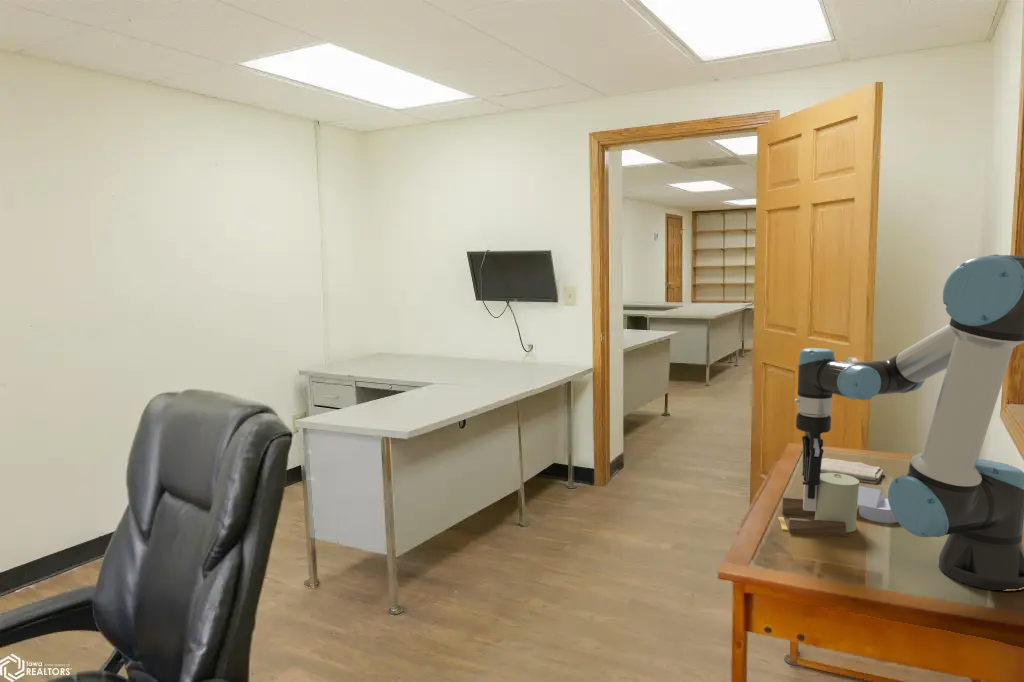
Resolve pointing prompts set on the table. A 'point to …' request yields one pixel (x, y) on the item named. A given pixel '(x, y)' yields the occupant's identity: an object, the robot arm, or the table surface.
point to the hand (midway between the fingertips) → (809, 509)
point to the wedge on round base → (874, 506)
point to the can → (837, 499)
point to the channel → (808, 520)
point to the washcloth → (852, 470)
